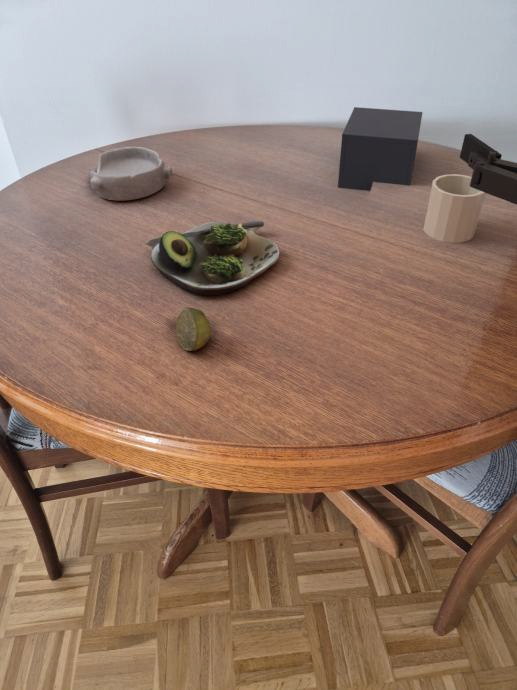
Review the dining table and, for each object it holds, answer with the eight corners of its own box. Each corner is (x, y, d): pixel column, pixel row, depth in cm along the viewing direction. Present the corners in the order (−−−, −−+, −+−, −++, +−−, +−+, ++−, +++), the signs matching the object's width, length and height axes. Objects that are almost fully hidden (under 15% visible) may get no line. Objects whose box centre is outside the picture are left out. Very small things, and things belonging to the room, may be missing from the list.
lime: (202, 360, 64) (198, 327, 60) (167, 349, 65) (161, 317, 62) (219, 337, 67) (217, 305, 64) (185, 328, 68) (181, 296, 65)
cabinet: (349, 156, 109) (354, 107, 103) (413, 162, 106) (422, 111, 100) (337, 187, 99) (342, 133, 92) (408, 194, 96) (418, 140, 90)
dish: (96, 209, 93) (90, 181, 90) (88, 177, 103) (82, 151, 100) (179, 196, 97) (175, 168, 94) (163, 166, 107) (160, 141, 104)
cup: (470, 231, 86) (485, 176, 80) (471, 255, 80) (487, 198, 74) (422, 226, 87) (433, 172, 81) (420, 249, 82) (431, 193, 76)
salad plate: (228, 215, 91) (227, 189, 88) (308, 254, 81) (309, 226, 78) (132, 259, 81) (127, 231, 78) (210, 310, 71) (207, 280, 68)
